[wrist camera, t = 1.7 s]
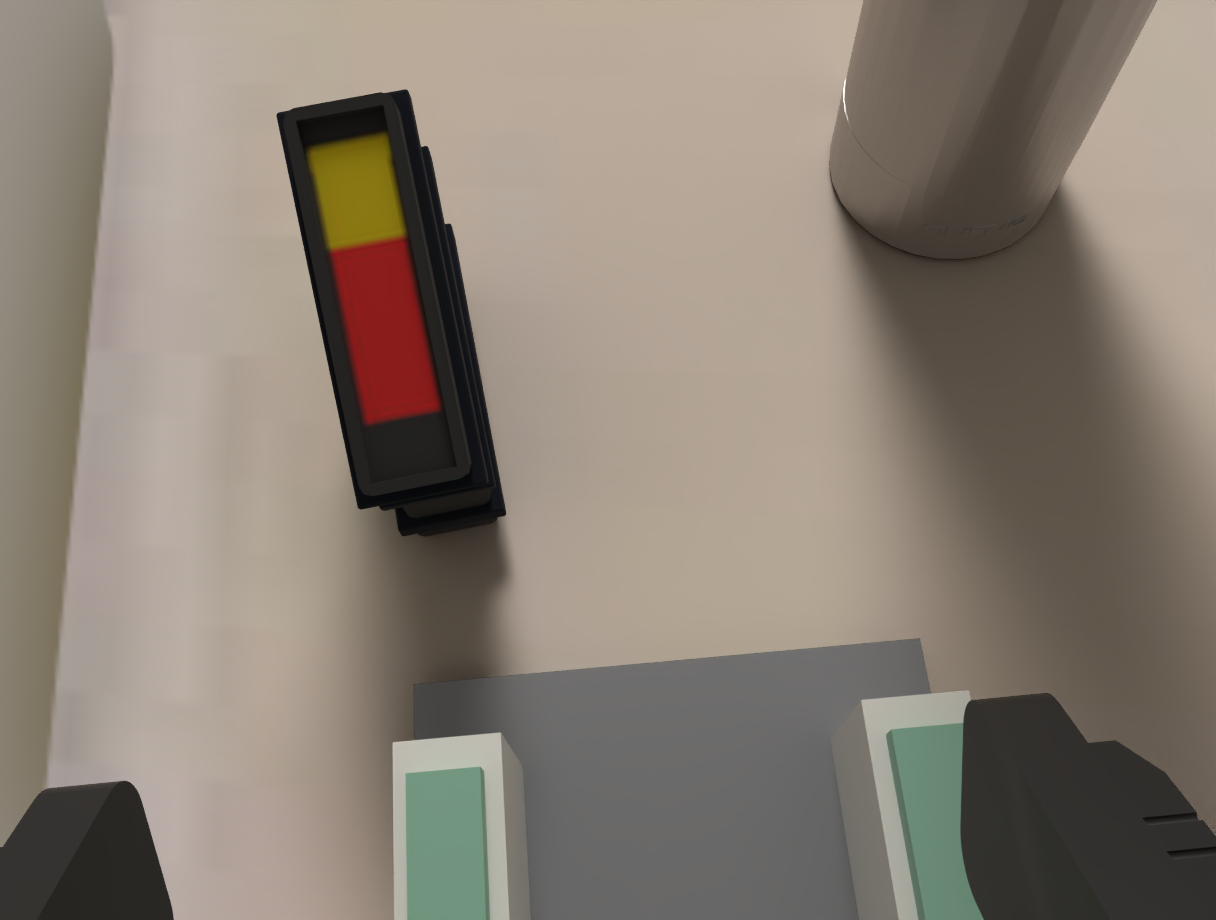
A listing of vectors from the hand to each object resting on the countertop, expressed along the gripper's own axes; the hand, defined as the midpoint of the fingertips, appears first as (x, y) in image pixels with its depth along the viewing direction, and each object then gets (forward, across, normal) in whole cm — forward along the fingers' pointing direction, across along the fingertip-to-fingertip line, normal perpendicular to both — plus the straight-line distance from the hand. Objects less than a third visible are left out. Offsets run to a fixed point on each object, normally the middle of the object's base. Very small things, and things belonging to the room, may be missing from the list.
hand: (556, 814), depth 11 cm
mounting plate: (+20, -2, +20) cm, 28 cm away
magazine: (+32, +5, +7) cm, 34 cm away
